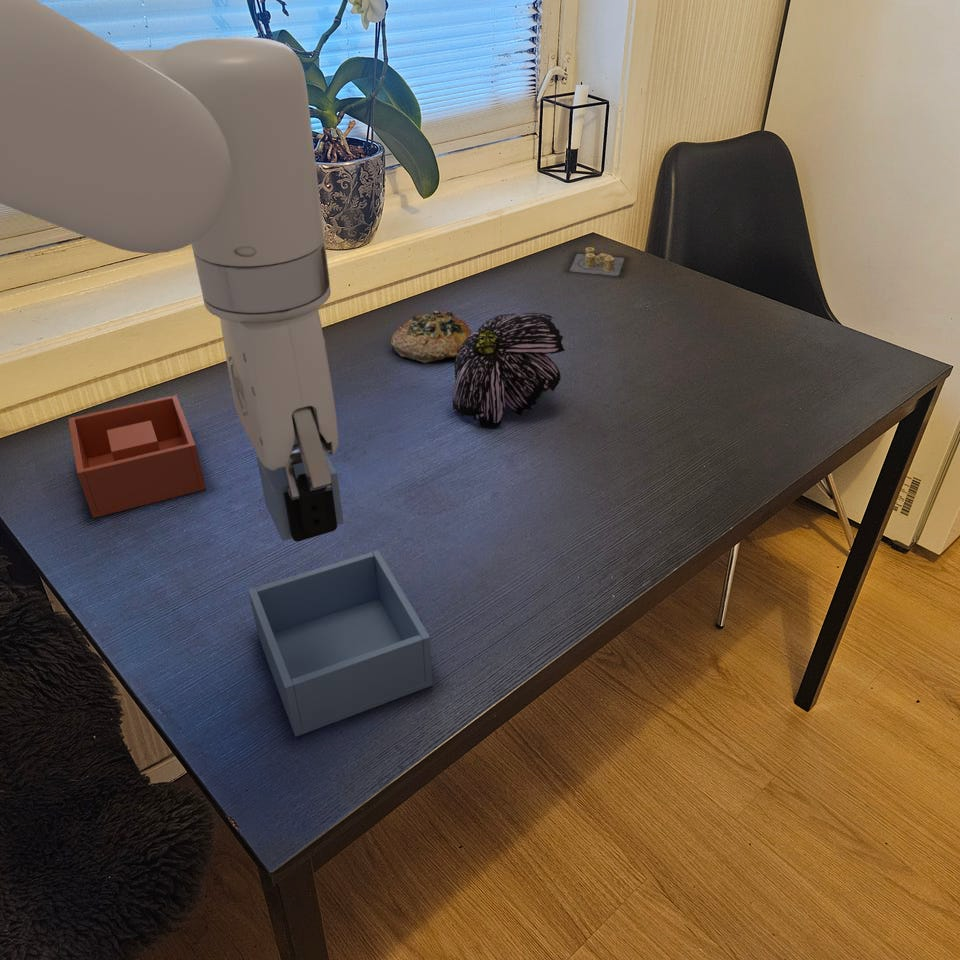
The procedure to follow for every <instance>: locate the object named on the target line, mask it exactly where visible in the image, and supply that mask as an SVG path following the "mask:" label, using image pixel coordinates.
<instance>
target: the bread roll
mask: <svg viewBox="0 0 960 960" xmlns="http://www.w3.org/2000/svg"><path fill="white" fill-rule="evenodd" d="M471 334H472V330H471V328H470V327H469V326H468V325H467V323H466V321H465V320H463V319H461V317H460V318H459V317H457V316H455V315H454V314H453V312H452V311H451V310H447V311H443V312H440V311H439V310H434V311H433V312H432V313H425V314H420V315H413V316H412V317H410V318H409V320H407V321H406V322H405V323H404V324H403V325H400V326H399V327H398V328H397V329H396V330H395V331H394V332H393V334H392V337H391V339H390V341H391V343H390V344H391V345H392V348H393V350H394V351H395V352H396V353H397V354H398V355H399V356H400V357H402V358H403V357H404V358H407V359H411V360H416V361H419V362H421V363H424V364H427V363H432V362H437V361H442V360H444V359H447V358H456V357H457V353H458V351H459V349H460V347H461V345H462V343H463V342H464V341H465V340H466V339H467V338H468V337H469V336H470V335H471Z"/></svg>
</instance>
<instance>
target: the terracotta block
mask: <svg viewBox="0 0 960 960" xmlns="http://www.w3.org/2000/svg"><path fill="white" fill-rule="evenodd" d="M107 435H108V439H109V444H110V448H111V452H112V455H113V459H114V461H118V460H122V459H126V458H131V457H135V456H139V455H143V454H147V453H152V452H156V451H160V449H159V445H158V441H157V438H156V435H155V432H154V429H153V425H152V422H151V421H146V422H141V423H137V424H132V425H128V426H124V427H119V428H115V429H110V430H107Z"/></svg>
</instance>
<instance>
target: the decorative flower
mask: <svg viewBox="0 0 960 960" xmlns="http://www.w3.org/2000/svg"><path fill="white" fill-rule="evenodd" d="M552 319H554V317H553V316H552V315H549V314H545V313H541V312H522V313H505V314H500V315H497V316H494V317H492V318H489V319H488V320H486V321H485V322H484V323H483V324H481V326H480V327H478V328H477V330H476V331H474V332H472V333H471V335H470V336H469V337H468V338H467V339H466V340H465V341H464V342H463V343H462V345H461V347H460V349H459V351H458V353H457V357H455V360H454V379H455V383H454V386H453V390H452V391H453V392H452V410H453V411H456V413H457V416H460V415H461V417H464V416H466V417H469V418H470V417H472V418H473V420H475V421H477V423H479V425H478V426H479V427H481V428H488V429H497V428H499V427H500V425H501V424H502V422H503V420H504V416H505V410H506V406H507V408H508V409H509V410H510V411H512V412H513V413H515V414H516V415H518V416H520V417H521V415H522V414H523V413H524V412H525V411H529V410H533V408H532V407H533V406H535V405H536V404H537V401H538V399H539V398H540V397H541V396H542V394H543V392H545V393H546V392H547V391H552V392H554V391H555V389H556V388H557V386H558V385H559V384H560V381H561V379H562V378H561V377H562V375H561V372H560V370H559V368H558V366H557V365H556V363H555V362H554V361H553V360H552V359H551V358H550V357H549V356H548V355H549V354H550V355H552V354H553V355H554V354H559V353H561V352H566V349H565V348H564V345H563V344H562V342H563V341H562V340H563V338H564V336H563V335H561V334H560V333H561V332H560V329H558V328H557V327H556V325H555V323H554V322H553V320H552Z"/></svg>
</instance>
